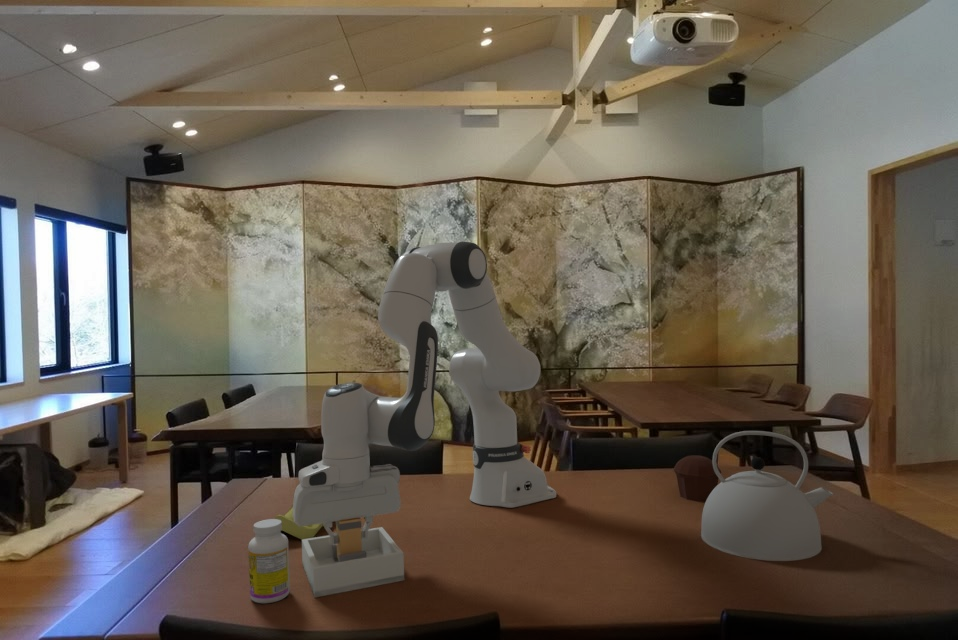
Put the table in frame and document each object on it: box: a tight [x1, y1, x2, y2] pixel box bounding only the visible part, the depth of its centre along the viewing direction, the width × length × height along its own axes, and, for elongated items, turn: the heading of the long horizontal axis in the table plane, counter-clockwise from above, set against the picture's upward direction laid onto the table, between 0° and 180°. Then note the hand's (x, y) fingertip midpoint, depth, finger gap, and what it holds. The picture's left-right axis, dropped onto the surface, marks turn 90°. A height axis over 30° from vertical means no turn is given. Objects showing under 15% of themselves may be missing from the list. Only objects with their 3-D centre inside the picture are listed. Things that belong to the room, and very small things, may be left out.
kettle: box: [700, 430, 834, 562], centre depth 133 cm, size 25×23×23 cm
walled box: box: [301, 526, 405, 598], centre depth 123 cm, size 16×16×5 cm
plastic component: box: [273, 505, 324, 540], centre depth 150 cm, size 20×7×10 cm
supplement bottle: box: [247, 518, 291, 604], centre depth 113 cm, size 7×7×13 cm
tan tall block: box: [335, 517, 362, 558], centre depth 124 cm, size 4×4×8 cm
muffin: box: [673, 454, 722, 502], centre depth 165 cm, size 12×11×10 cm
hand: (348, 541), depth 124 cm, fingers open, 4 cm apart
